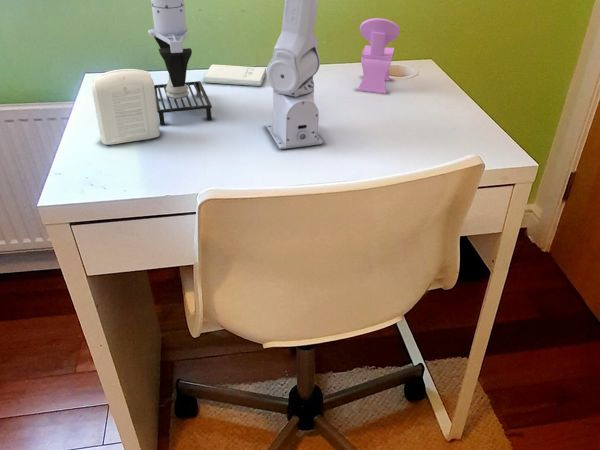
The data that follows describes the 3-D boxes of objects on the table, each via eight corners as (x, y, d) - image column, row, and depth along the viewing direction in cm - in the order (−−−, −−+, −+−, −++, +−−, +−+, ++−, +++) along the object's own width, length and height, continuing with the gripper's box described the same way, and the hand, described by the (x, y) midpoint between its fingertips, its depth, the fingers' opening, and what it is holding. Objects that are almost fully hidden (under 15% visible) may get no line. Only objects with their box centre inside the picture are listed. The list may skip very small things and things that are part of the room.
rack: (212, 120, 105) (211, 105, 103) (159, 126, 102) (157, 111, 101) (201, 94, 115) (200, 80, 113) (152, 99, 112) (150, 85, 111)
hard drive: (212, 70, 127) (266, 73, 126) (204, 83, 120) (260, 86, 120) (212, 63, 126) (266, 66, 125) (203, 76, 119) (260, 79, 119)
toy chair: (394, 79, 125) (403, 11, 117) (391, 94, 118) (400, 22, 110) (358, 76, 127) (364, 8, 118) (352, 89, 120) (359, 18, 111)
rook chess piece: (170, 90, 109) (165, 49, 104) (192, 91, 108) (188, 51, 104) (162, 98, 105) (157, 57, 101) (185, 100, 105) (181, 59, 100)
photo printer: (157, 128, 101) (148, 62, 94) (163, 138, 98) (154, 70, 91) (99, 137, 98) (86, 69, 91) (103, 148, 95) (89, 78, 88)
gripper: (141, -5, 102) (150, 67, 109) (148, 16, 90) (158, 95, 98) (179, -7, 103) (186, 64, 111) (191, 14, 92) (198, 91, 100)
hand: (176, 78), depth 105 cm, fingers open, 7 cm apart
